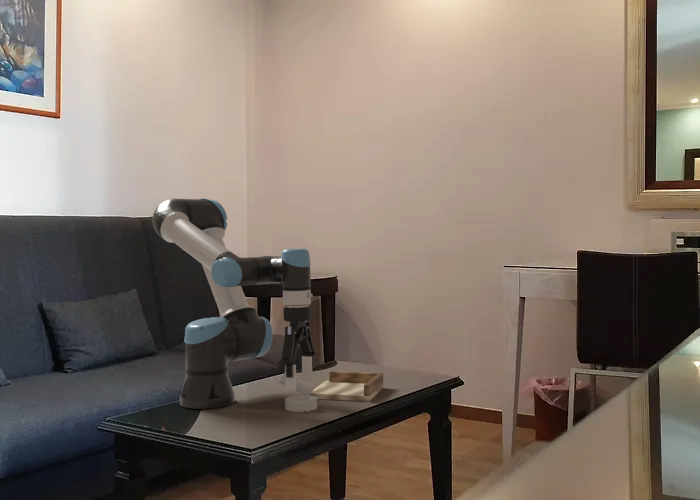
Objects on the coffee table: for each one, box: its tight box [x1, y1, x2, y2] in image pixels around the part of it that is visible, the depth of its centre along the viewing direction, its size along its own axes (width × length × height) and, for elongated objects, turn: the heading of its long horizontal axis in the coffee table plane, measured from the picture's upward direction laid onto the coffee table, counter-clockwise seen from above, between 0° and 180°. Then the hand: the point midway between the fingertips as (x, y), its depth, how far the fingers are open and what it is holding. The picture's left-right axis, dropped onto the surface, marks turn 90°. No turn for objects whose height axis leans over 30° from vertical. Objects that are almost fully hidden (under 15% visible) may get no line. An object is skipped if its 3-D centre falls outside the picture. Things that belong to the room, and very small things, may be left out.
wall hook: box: [279, 372, 318, 413], centre depth 204 cm, size 9×10×10 cm
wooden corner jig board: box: [309, 370, 384, 402], centre depth 221 cm, size 18×18×4 cm
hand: (299, 384), depth 204 cm, fingers open, 13 cm apart
